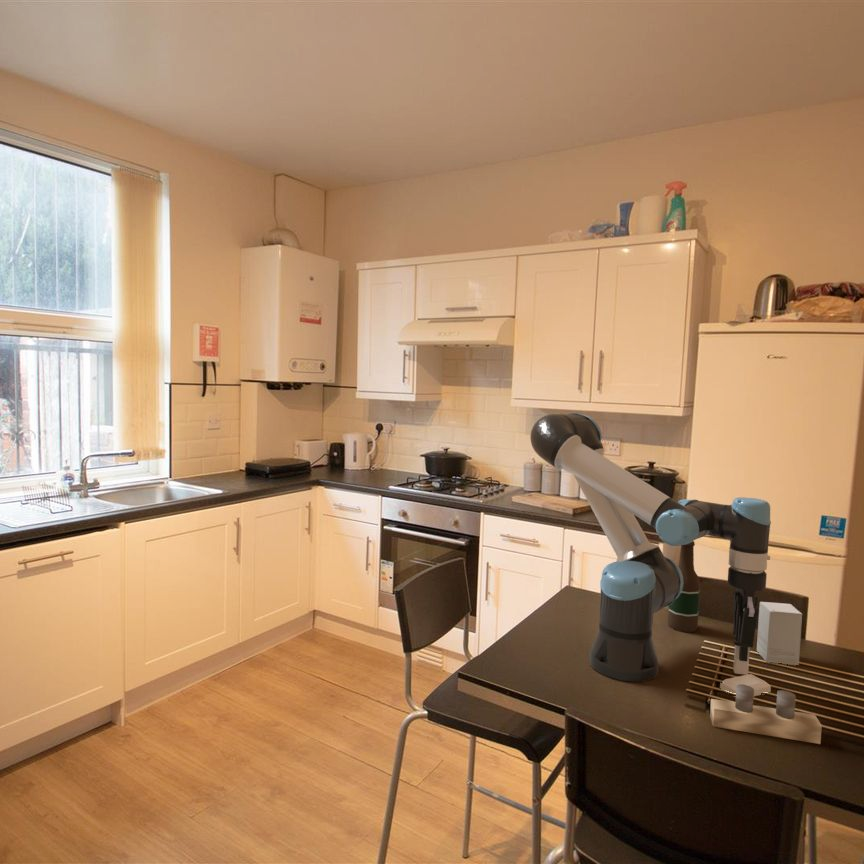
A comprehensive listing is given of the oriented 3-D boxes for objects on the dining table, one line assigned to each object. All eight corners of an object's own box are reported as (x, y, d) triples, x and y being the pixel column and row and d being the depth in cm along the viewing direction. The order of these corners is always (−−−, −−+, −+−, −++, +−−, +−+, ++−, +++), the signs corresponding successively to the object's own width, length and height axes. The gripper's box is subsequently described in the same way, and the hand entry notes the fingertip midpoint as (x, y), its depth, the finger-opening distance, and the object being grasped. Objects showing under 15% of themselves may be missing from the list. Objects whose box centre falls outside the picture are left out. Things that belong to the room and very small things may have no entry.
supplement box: (799, 666, 144) (803, 614, 143) (765, 662, 146) (769, 610, 145) (788, 653, 151) (791, 603, 151) (755, 650, 153) (758, 600, 152)
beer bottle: (664, 620, 171) (669, 536, 169) (693, 623, 170) (698, 537, 168) (671, 631, 163) (676, 543, 162) (701, 634, 162) (707, 544, 161)
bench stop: (713, 726, 117) (715, 688, 116) (709, 715, 121) (712, 678, 120) (820, 744, 112) (823, 704, 111) (813, 732, 116) (816, 694, 115)
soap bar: (719, 690, 132) (720, 678, 132) (750, 683, 136) (751, 672, 135) (739, 701, 128) (739, 689, 127) (770, 694, 131) (771, 682, 131)
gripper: (774, 579, 128) (766, 688, 129) (759, 562, 140) (752, 662, 142) (734, 575, 130) (727, 683, 131) (723, 559, 142) (717, 658, 144)
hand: (740, 672), depth 136 cm, fingers closed
